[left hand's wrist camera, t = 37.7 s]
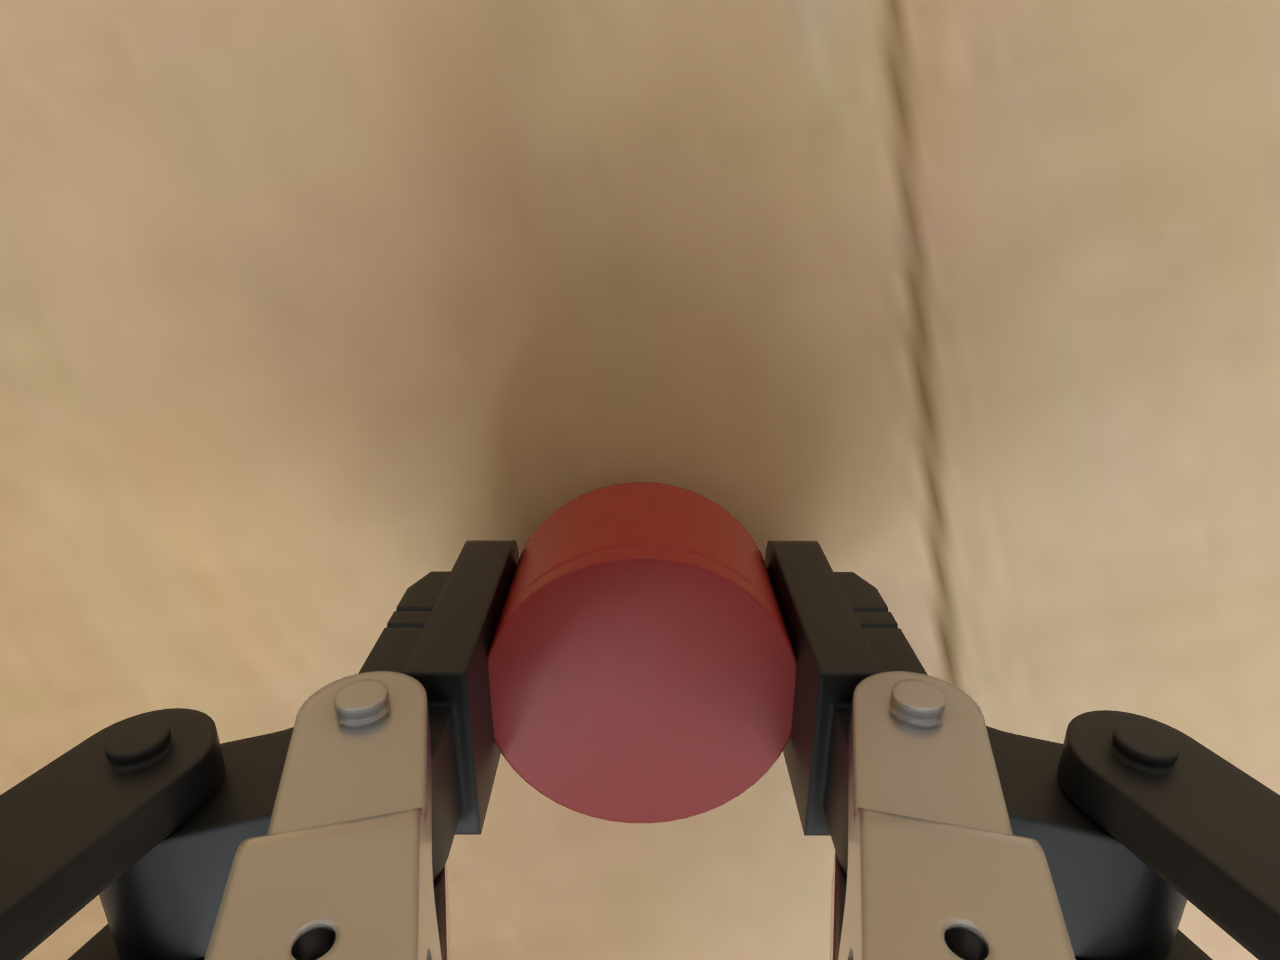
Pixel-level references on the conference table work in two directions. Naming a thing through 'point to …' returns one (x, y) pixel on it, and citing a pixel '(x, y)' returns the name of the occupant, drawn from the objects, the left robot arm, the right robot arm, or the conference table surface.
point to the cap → (641, 657)
